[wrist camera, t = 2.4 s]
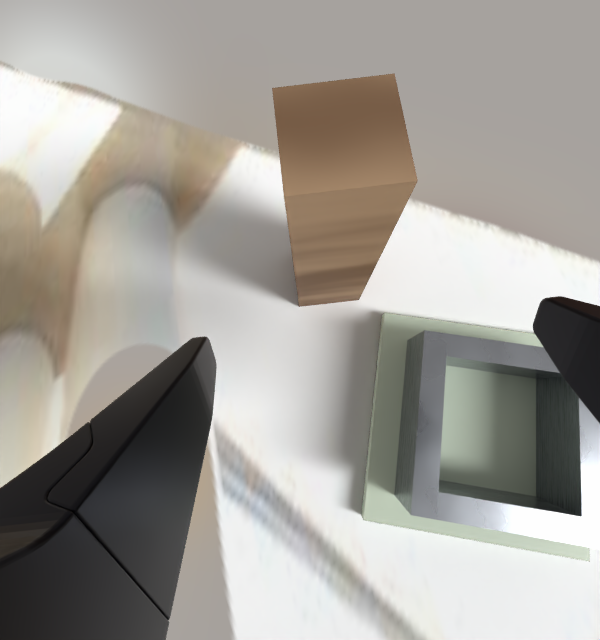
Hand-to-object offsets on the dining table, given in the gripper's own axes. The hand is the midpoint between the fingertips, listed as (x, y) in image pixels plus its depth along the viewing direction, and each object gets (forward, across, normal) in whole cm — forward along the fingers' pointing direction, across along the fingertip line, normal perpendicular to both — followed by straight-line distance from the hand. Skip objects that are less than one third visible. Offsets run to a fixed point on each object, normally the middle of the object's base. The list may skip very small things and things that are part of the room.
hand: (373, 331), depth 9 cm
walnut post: (+13, 0, +4) cm, 14 cm away
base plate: (+6, -8, +12) cm, 15 cm away
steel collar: (+6, -8, +12) cm, 15 cm away
